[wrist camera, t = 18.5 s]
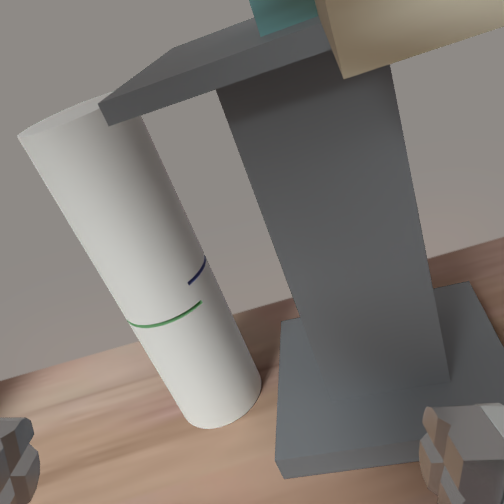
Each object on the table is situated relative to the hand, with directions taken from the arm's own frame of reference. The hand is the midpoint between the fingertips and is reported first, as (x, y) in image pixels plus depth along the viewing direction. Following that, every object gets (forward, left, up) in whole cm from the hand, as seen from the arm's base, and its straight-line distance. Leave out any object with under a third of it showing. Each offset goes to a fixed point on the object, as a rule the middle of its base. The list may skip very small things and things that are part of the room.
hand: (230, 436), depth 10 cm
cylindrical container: (-11, +22, -21) cm, 32 cm away
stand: (+2, +20, -21) cm, 29 cm away
